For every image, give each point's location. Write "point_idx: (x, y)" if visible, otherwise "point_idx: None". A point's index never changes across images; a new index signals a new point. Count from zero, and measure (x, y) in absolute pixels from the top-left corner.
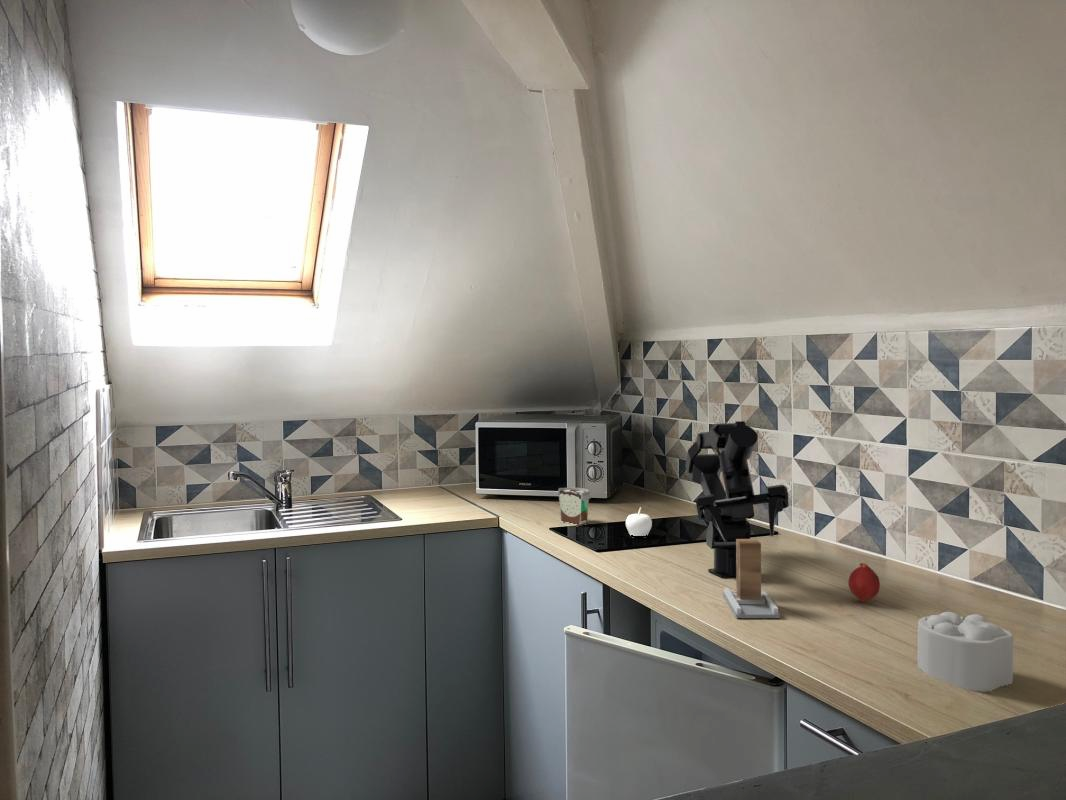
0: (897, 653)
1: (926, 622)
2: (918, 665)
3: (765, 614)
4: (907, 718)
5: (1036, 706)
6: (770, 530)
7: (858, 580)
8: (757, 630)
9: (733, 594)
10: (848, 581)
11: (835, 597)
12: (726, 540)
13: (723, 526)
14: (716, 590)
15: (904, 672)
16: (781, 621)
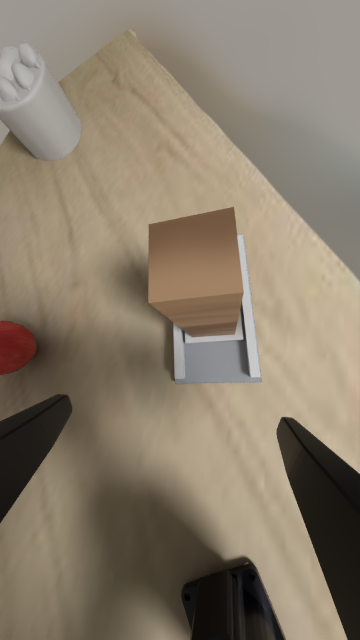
0: (80, 165)
1: (33, 80)
2: (78, 133)
3: None
4: (130, 44)
5: None
6: (53, 403)
7: (6, 326)
8: (215, 196)
9: (241, 328)
10: (19, 356)
11: (61, 376)
12: (284, 417)
13: (340, 487)
14: (274, 432)
15: (95, 122)
16: None
